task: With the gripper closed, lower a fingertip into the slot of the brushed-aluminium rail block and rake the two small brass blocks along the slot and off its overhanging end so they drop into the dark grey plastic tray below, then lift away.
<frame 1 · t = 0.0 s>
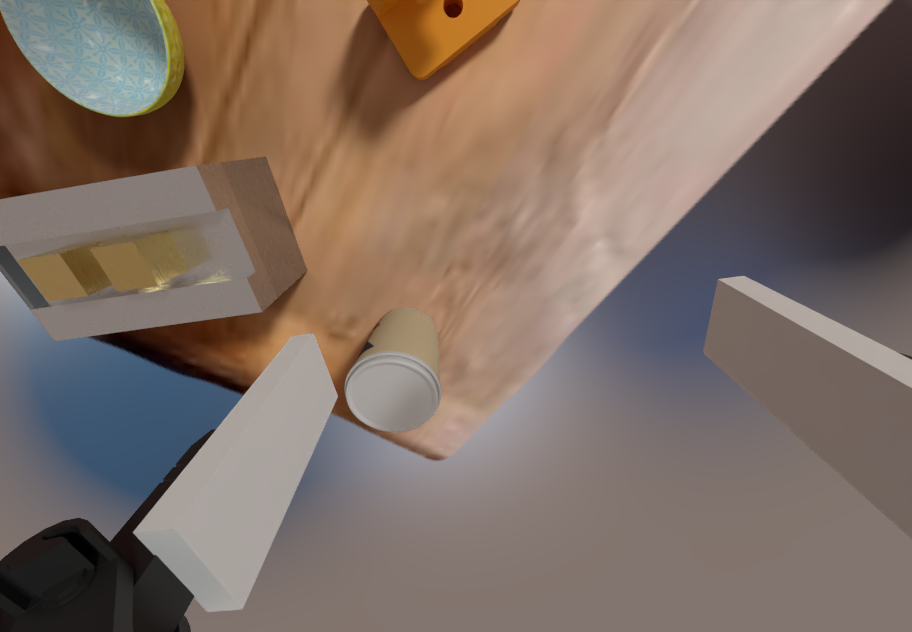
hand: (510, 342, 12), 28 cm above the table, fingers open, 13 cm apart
coffee cup: (407, 333, 44), on the table
bowl: (151, 45, 31), on the table
rail block: (199, 231, 38), on the table
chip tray: (77, 251, 39), on the table
bracket: (446, 2, 30), on the table
chip a: (94, 263, 31), point 9 cm above the table, touching rail block
chip b: (159, 253, 30), point 9 cm above the table, touching rail block
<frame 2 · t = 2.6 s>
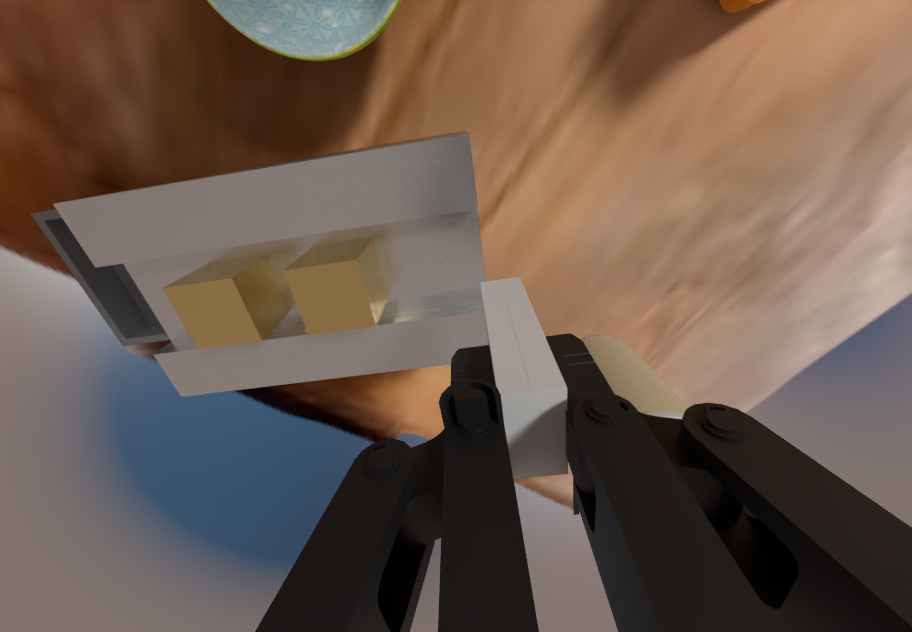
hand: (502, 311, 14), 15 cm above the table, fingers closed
coffee cup: (592, 367, 34), on the table
rail block: (350, 236, 28), on the table
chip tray: (181, 261, 29), on the table
chip a: (250, 287, 20), point 9 cm above the table, touching rail block
chip b: (350, 273, 20), point 9 cm above the table, touching rail block
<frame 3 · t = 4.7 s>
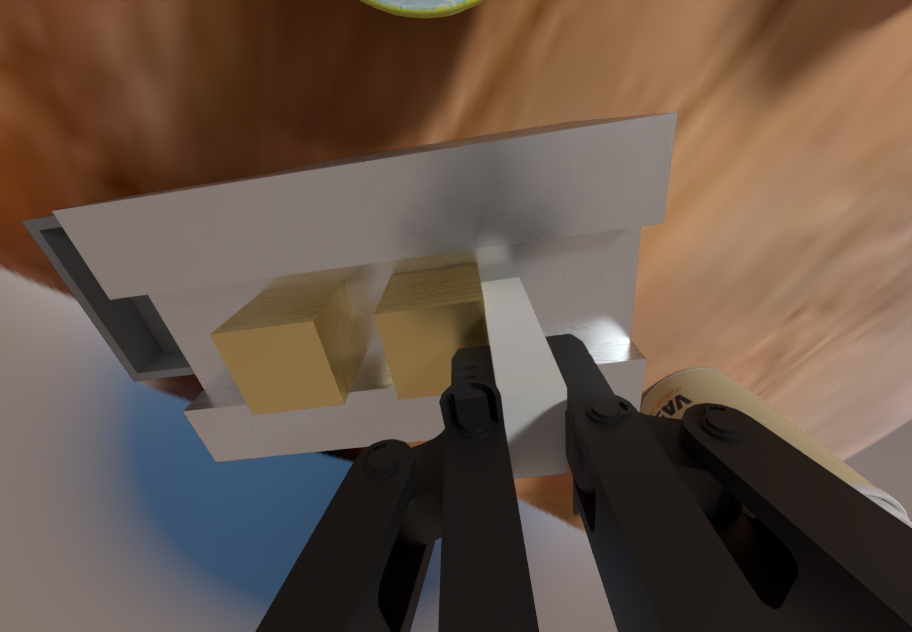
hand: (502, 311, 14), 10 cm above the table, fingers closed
coffee cup: (685, 403, 29), on the table
rail block: (416, 250, 23), on the table
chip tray: (206, 279, 24), on the table
chip a: (316, 323, 15), point 9 cm above the table, touching rail block
chip b: (441, 307, 15), point 9 cm above the table, touching gripper
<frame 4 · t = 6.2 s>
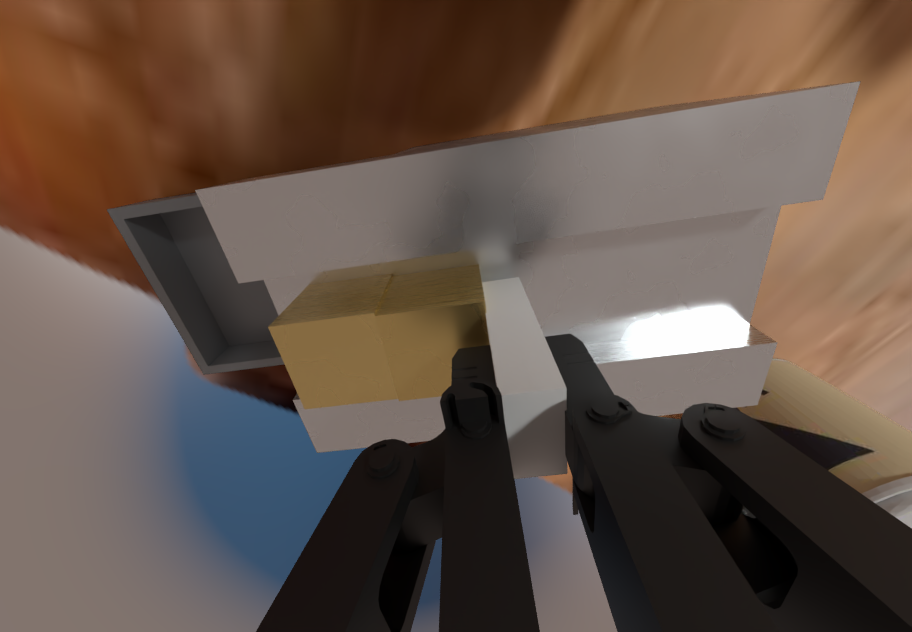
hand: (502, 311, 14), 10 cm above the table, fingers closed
coffee cup: (750, 395, 29), on the table
rail block: (493, 239, 23), on the table
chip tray: (277, 270, 24), on the table
chip a: (361, 317, 15), point 9 cm above the table, touching chip b, rail block
chip b: (442, 308, 15), point 9 cm above the table, touching chip a, gripper
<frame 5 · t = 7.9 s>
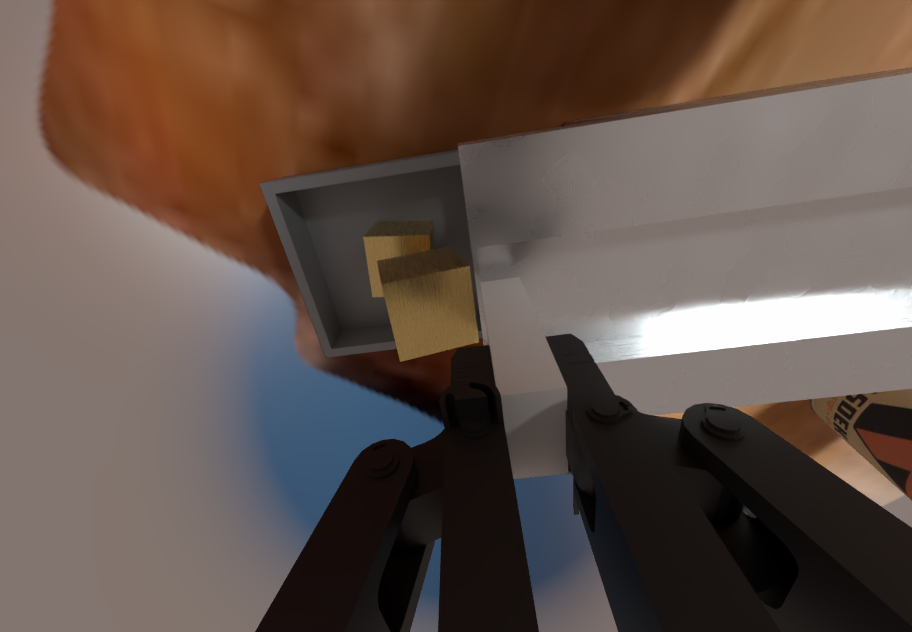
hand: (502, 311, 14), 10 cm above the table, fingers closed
coffee cup: (861, 383, 28), on the table
rail block: (629, 219, 22), on the table
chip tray: (402, 251, 23), on the table
chip a: (433, 256, 21), point 2 cm above the table, tilted 90°, touching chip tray
chip b: (463, 291, 16), point 8 cm above the table, tilted 75°
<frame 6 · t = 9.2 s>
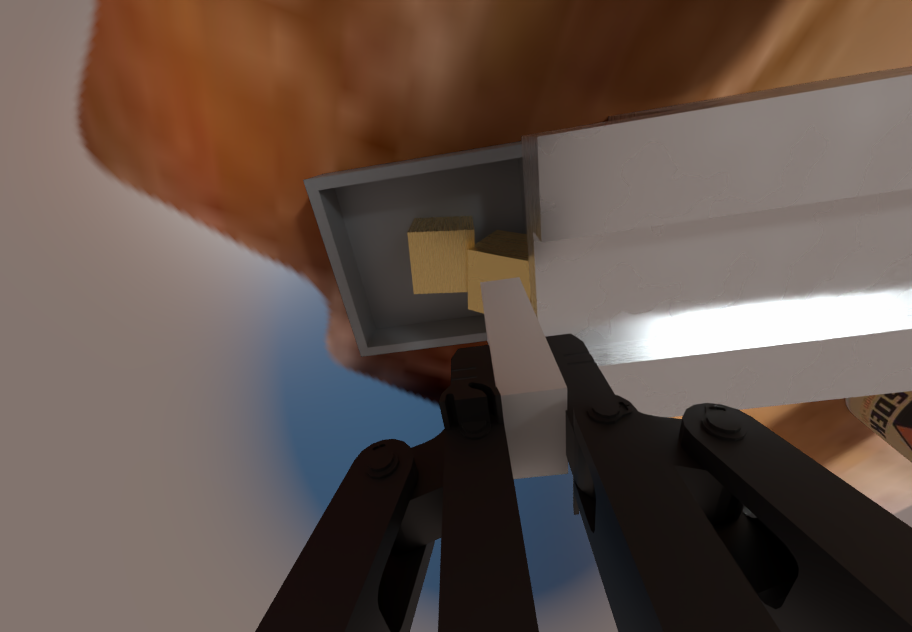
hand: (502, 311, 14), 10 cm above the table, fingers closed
coffee cup: (896, 380, 28), on the table
rail block: (669, 215, 22), on the table
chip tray: (439, 249, 23), on the table
chip a: (473, 252, 21), point 2 cm above the table, tilted 90°, touching chip b, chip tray
chip b: (523, 263, 21), point 3 cm above the table, tilted 31°, touching chip a, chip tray
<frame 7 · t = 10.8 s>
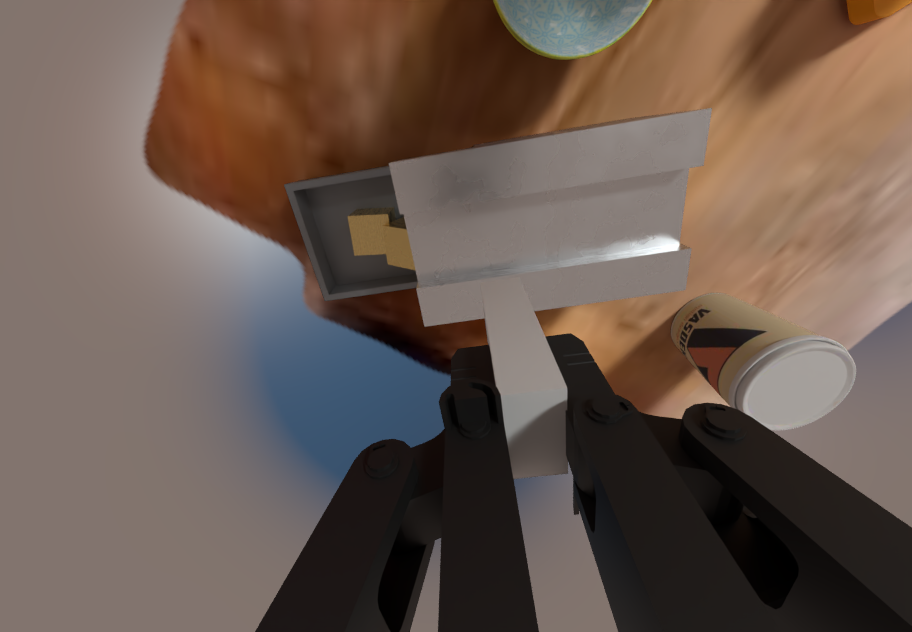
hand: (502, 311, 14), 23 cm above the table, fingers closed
coffee cup: (704, 322, 40), on the table
rail block: (522, 206, 34), on the table
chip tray: (375, 229, 35), on the table
chip a: (393, 229, 33), point 2 cm above the table, tilted 90°, touching chip b, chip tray
chip b: (424, 236, 33), point 3 cm above the table, tilted 31°, touching chip a, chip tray
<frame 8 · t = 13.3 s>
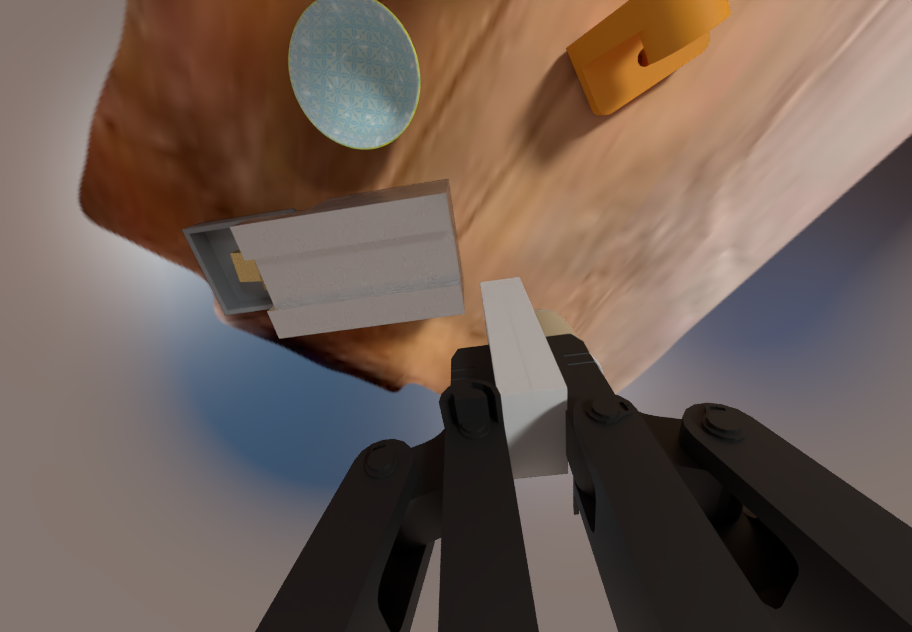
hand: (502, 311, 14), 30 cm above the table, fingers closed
coffee cup: (539, 332, 50), on the table
bowl: (370, 85, 36), on the table
rail block: (376, 242, 44), on the table
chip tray: (264, 259, 45), on the table
bracket: (628, 51, 35), on the table
chip a: (272, 261, 42), point 2 cm above the table, tilted 90°, touching chip b, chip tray
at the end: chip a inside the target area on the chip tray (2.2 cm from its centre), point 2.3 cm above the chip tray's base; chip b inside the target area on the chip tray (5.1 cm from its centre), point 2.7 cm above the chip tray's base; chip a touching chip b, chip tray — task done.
